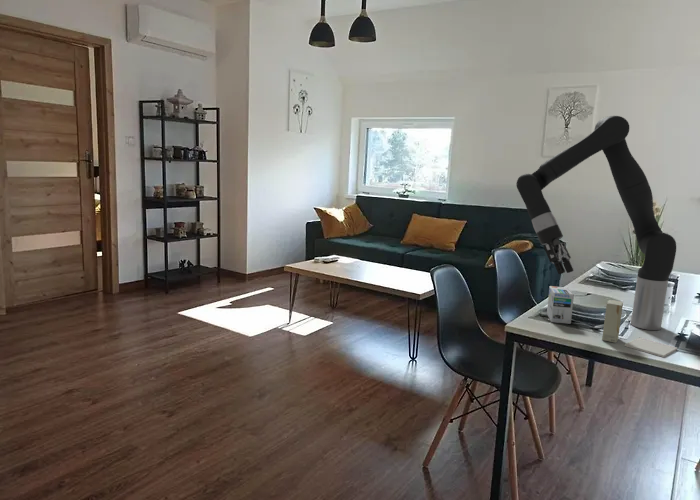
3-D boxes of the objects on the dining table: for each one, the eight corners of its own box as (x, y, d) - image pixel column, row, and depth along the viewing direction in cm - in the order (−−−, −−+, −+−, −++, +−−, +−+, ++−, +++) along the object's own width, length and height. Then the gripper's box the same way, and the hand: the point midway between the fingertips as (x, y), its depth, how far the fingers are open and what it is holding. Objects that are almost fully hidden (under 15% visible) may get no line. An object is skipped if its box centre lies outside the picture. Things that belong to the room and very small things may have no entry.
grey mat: (639, 339, 168) (639, 337, 167) (677, 349, 159) (677, 347, 159) (624, 346, 161) (624, 344, 160) (663, 357, 152) (663, 355, 152)
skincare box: (616, 343, 162) (621, 305, 160) (601, 340, 165) (606, 303, 163) (618, 338, 168) (623, 301, 166) (603, 335, 170) (608, 299, 168)
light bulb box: (571, 324, 180) (574, 294, 178) (550, 322, 181) (554, 292, 180) (565, 315, 190) (568, 287, 189) (545, 313, 192) (548, 285, 190)
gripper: (549, 223, 170) (570, 269, 166) (564, 224, 180) (583, 267, 177) (528, 232, 174) (548, 278, 170) (544, 233, 185) (562, 275, 181)
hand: (566, 272), depth 173 cm, fingers open, 8 cm apart
